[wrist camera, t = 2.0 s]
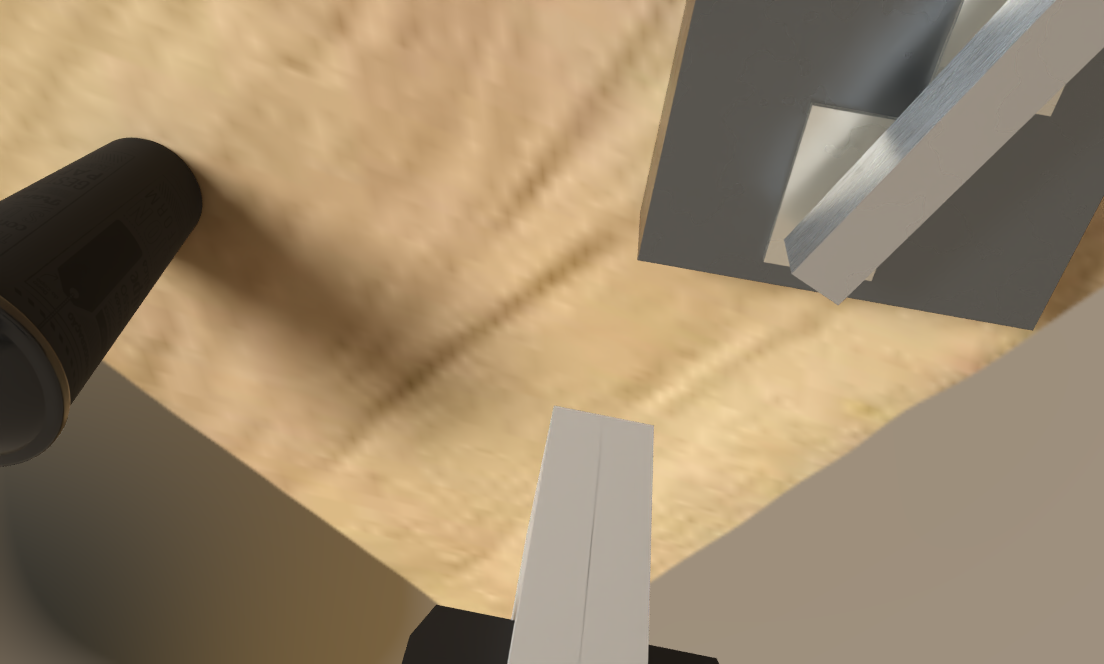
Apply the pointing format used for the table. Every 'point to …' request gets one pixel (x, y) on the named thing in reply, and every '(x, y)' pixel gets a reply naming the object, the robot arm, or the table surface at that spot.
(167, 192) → the drinking cup
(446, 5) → the table surface
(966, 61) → the cable arm
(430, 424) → the table surface
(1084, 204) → the grey flat block
